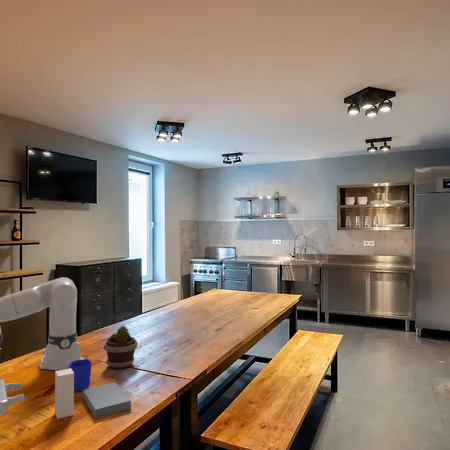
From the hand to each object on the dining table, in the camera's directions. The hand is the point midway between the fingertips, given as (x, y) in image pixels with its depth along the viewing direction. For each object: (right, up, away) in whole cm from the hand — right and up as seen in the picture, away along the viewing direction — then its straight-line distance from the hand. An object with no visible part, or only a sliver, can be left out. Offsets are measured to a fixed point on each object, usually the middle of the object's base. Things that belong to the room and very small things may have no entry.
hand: (22, 391), depth 120 cm
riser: (+22, -11, +15) cm, 28 cm away
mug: (+8, -11, +28) cm, 32 cm away
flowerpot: (+17, -11, +51) cm, 55 cm away
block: (+10, -11, +7) cm, 16 cm away
